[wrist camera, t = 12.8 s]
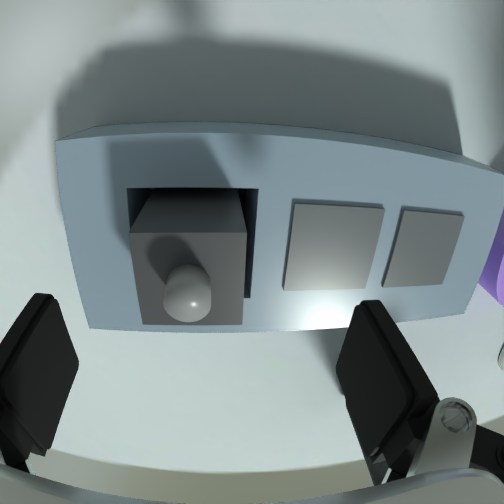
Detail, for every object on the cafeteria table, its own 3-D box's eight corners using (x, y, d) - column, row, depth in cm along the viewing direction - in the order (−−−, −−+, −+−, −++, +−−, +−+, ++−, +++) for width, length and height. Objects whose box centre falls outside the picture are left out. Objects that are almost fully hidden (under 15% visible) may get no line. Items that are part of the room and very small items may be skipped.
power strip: (495, 164, 19) (541, 187, 14) (462, 274, 23) (496, 309, 19) (94, 126, 15) (52, 141, 11) (110, 279, 20) (88, 330, 15)
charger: (233, 173, 18) (250, 249, 10) (231, 237, 20) (245, 345, 12) (163, 173, 17) (119, 249, 9) (166, 237, 19) (137, 345, 11)
